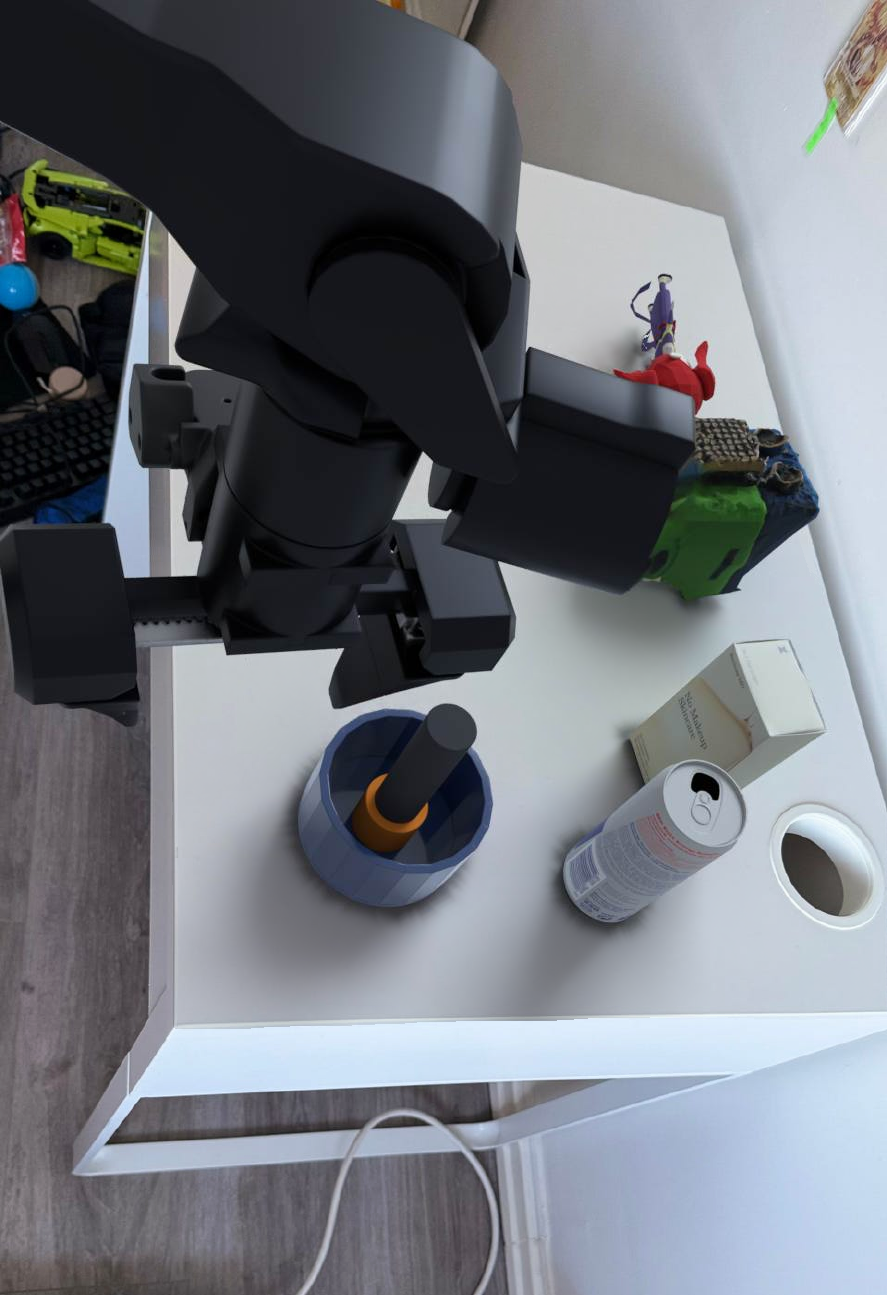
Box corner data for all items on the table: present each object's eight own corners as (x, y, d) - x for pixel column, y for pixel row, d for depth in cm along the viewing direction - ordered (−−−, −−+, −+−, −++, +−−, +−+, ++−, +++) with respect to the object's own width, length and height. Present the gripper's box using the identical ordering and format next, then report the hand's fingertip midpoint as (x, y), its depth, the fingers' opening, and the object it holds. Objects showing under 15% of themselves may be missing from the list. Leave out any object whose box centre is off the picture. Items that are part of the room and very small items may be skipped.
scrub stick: (345, 842, 61) (409, 746, 51) (358, 786, 63) (423, 683, 53) (405, 860, 62) (480, 770, 52) (417, 805, 64) (492, 707, 54)
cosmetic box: (626, 735, 72) (728, 637, 61) (682, 730, 73) (790, 633, 63) (657, 823, 70) (768, 737, 59) (714, 815, 71) (831, 730, 61)
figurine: (685, 327, 91) (701, 468, 84) (585, 317, 90) (593, 458, 83) (711, 261, 85) (730, 406, 79) (604, 249, 84) (615, 395, 78)
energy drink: (646, 859, 68) (756, 778, 58) (632, 937, 65) (745, 866, 55) (569, 828, 67) (667, 740, 57) (552, 905, 64) (651, 827, 54)
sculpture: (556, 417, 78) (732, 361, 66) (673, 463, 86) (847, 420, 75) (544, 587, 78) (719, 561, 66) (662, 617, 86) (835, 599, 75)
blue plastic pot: (279, 878, 60) (300, 841, 55) (319, 731, 64) (342, 685, 60) (442, 927, 62) (477, 895, 57) (470, 781, 66) (504, 741, 62)
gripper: (503, 304, 41) (388, 551, 55) (-32, 264, 34) (-15, 561, 47) (592, 548, 38) (445, 749, 51) (13, 564, 30) (18, 794, 43)
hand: (234, 707), depth 48 cm, fingers open, 9 cm apart
